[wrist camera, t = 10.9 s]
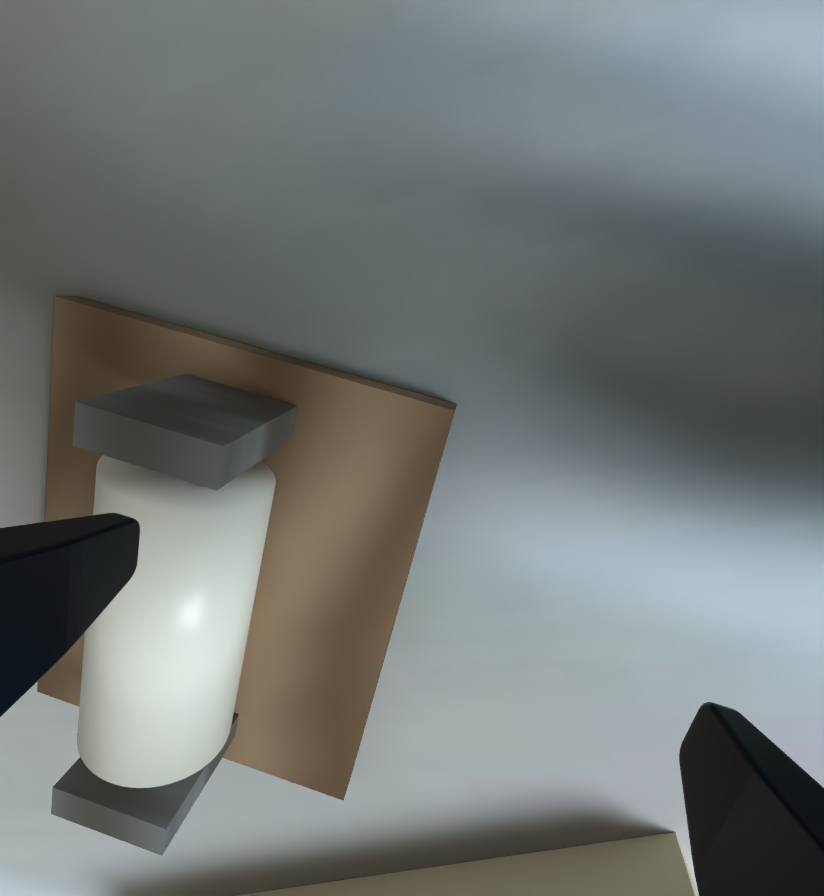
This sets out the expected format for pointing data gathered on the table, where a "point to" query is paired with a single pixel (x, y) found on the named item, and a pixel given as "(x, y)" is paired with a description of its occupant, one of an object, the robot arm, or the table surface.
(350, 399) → the roll holder
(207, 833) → the table surface
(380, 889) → the book
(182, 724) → the cylinder
